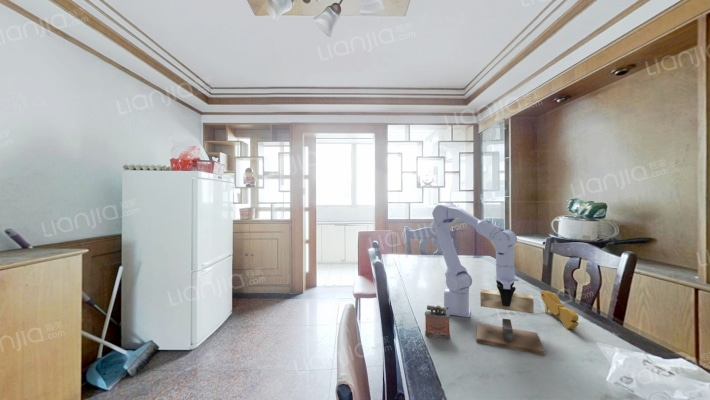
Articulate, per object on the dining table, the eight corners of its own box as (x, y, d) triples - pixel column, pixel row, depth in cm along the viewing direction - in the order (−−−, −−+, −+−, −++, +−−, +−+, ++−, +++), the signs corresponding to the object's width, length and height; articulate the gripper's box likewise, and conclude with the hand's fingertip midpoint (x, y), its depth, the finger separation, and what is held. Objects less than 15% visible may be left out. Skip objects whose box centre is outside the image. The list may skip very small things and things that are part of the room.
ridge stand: (476, 342, 87) (476, 326, 87) (477, 326, 98) (477, 312, 98) (544, 355, 79) (543, 338, 79) (537, 336, 90) (537, 321, 90)
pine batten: (480, 306, 97) (480, 292, 97) (480, 302, 101) (480, 289, 101) (533, 313, 90) (533, 298, 90) (531, 309, 94) (531, 294, 94)
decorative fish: (538, 303, 115) (540, 282, 112) (546, 304, 114) (549, 282, 112) (567, 341, 94) (570, 316, 91) (577, 342, 93) (581, 317, 91)
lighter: (450, 335, 92) (449, 305, 92) (450, 340, 89) (449, 309, 89) (425, 331, 95) (425, 303, 95) (424, 336, 91) (424, 306, 91)
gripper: (520, 271, 87) (521, 313, 87) (516, 261, 100) (516, 298, 100) (496, 268, 90) (496, 309, 90) (494, 260, 103) (495, 295, 103)
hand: (505, 303), depth 96 cm, fingers closed on pine batten, 4 cm apart
